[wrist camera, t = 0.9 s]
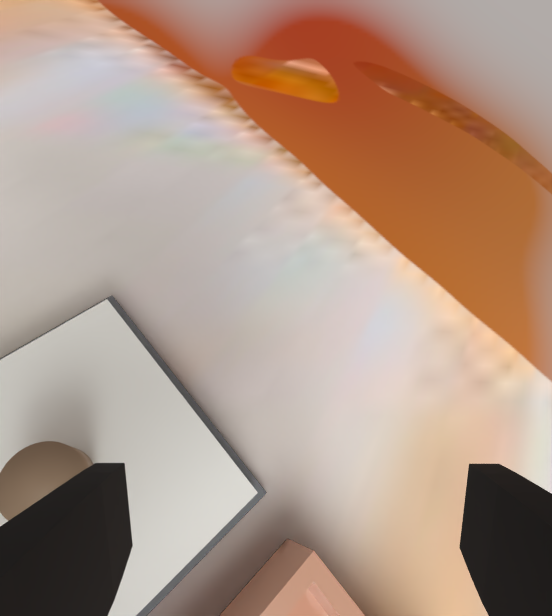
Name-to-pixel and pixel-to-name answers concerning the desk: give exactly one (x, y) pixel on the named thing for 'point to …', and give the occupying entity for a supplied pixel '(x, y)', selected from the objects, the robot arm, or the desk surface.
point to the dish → (293, 588)
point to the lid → (115, 444)
